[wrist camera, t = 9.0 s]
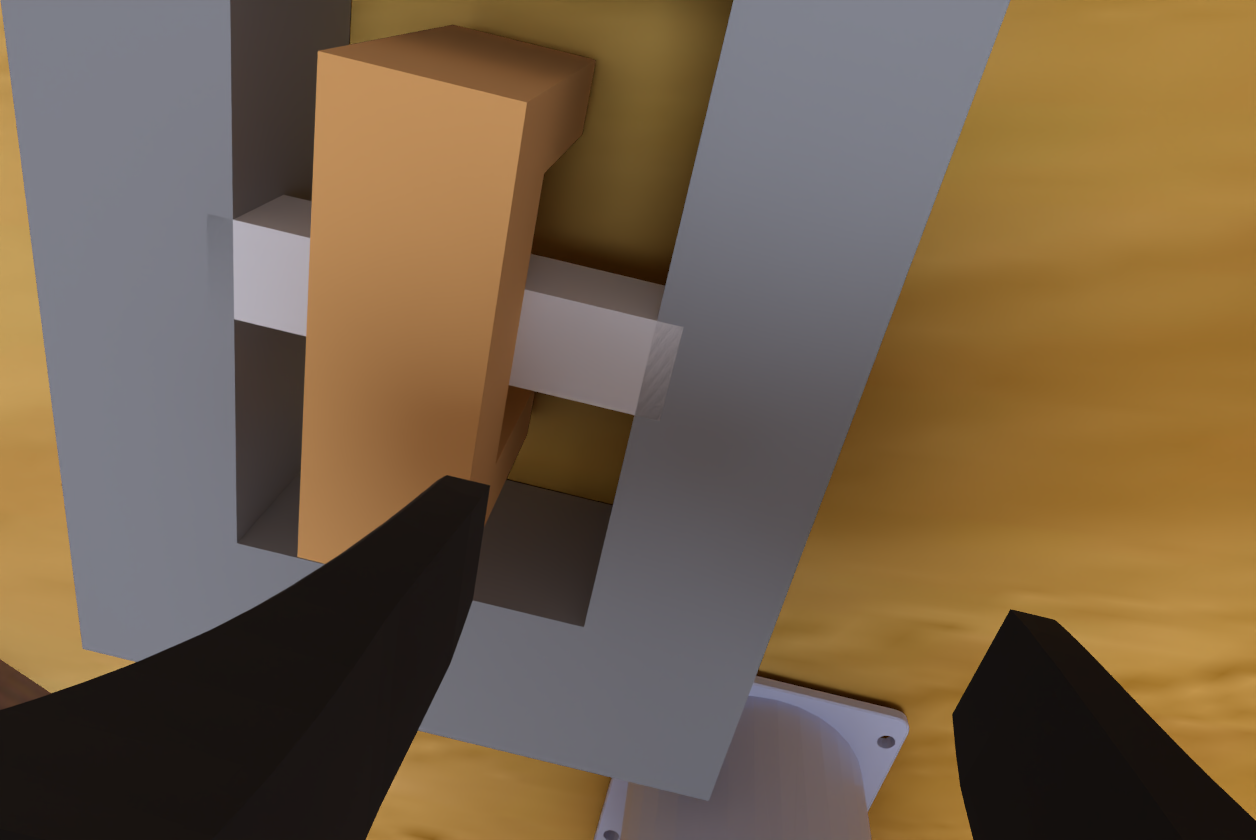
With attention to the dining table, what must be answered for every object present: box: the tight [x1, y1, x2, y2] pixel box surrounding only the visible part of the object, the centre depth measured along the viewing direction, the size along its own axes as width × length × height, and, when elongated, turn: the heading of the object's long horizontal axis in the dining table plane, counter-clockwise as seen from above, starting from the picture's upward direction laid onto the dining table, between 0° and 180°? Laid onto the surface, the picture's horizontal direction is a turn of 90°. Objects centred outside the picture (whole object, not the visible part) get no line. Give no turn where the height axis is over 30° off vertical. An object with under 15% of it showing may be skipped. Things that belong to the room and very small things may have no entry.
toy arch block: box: [297, 25, 596, 564], centre depth 17 cm, size 9×3×6 cm, turn 168°
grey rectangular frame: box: [1, 0, 1010, 801], centre depth 19 cm, size 22×16×5 cm
